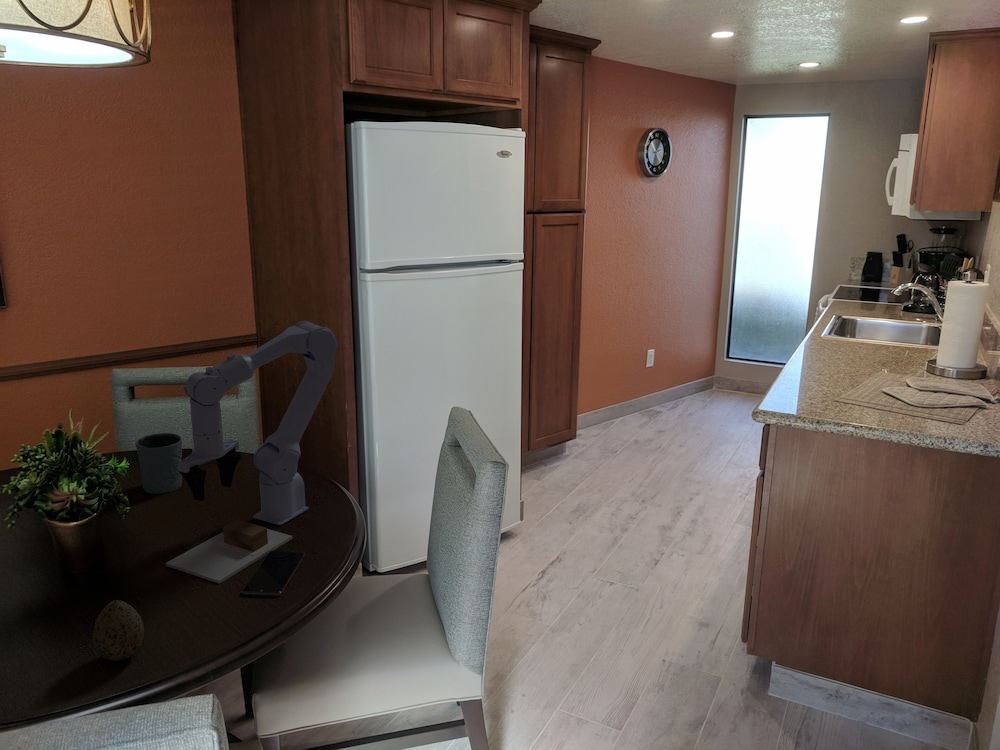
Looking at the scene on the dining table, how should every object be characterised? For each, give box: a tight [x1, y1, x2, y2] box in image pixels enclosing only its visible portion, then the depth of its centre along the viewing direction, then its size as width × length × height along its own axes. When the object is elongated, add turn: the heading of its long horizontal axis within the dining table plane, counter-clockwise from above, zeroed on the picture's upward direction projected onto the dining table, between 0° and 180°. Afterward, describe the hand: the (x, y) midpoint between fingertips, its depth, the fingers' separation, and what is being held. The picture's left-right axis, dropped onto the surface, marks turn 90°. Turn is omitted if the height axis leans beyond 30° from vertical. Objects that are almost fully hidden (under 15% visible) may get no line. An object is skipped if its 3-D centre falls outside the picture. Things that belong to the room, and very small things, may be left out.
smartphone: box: [241, 550, 306, 597], centre depth 144 cm, size 7×1×16 cm
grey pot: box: [135, 432, 183, 495], centre depth 180 cm, size 10×10×12 cm
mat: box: [165, 528, 293, 585], centre depth 152 cm, size 20×14×1 cm
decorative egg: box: [92, 599, 145, 662], centre depth 118 cm, size 7×7×10 cm
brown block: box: [222, 519, 268, 552], centre depth 153 cm, size 8×4×4 cm, turn 63°
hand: (213, 492), depth 157 cm, fingers open, 7 cm apart
